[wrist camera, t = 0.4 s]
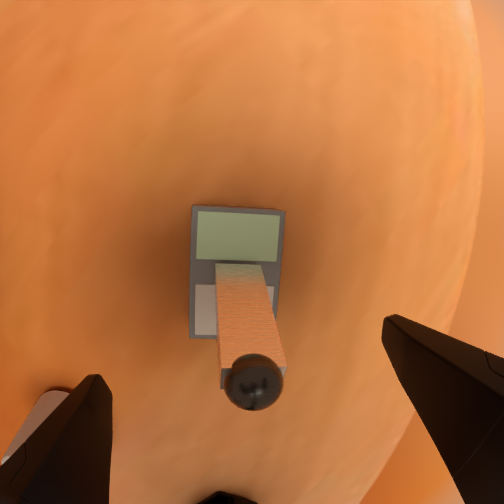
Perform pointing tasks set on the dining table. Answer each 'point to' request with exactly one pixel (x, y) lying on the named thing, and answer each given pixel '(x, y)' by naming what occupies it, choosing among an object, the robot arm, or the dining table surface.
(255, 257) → the switch box
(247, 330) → the toggle lever
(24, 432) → the can
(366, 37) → the dining table surface
